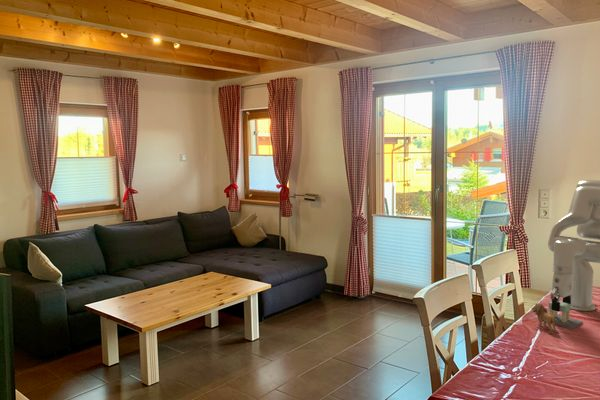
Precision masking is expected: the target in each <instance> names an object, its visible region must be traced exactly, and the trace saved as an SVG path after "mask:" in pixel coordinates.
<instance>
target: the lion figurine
mask: <svg viewBox="0 0 600 400" xmlns="http://www.w3.org/2000/svg"><path fill="white" fill-rule="evenodd" d="M531 311H532V313H535V315H537V317H538V318H539V319H538V322H539V324H538V325H537V326H538V327H542V326H548V328H549V330H550V331H548V332H549V334H551V335H552V334H553V332H555V333H556V334H557V335H560V332H558V330H557V329H556V324H555V322H556V320H555V317H554V316H553V315H550V314H549V312H548V310H547V308H546V307H545V306H544V305H543V304H542V303H540V302H539V303H538V302H536V303H535V305H534V306H533V307H531ZM542 320H544V321H542ZM551 322H552V323H551Z"/></svg>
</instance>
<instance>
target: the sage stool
mask: <svg viewBox="0 0 600 400" xmlns="http://www.w3.org/2000/svg"><path fill="white" fill-rule="evenodd" d="M559 302H560V311H559V312H561V316H562V322H564V323H565V322H566V320H567V321H569V320H570V318H571V310H572V309H571V304H568V303H564V302H563V301H559ZM551 308H552V301H549V302H548V313H549V314H550V315H553V316H554V317H557V315H558V311H554V310H552V309H551Z"/></svg>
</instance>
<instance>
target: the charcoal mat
mask: <svg viewBox="0 0 600 400" xmlns="http://www.w3.org/2000/svg"><path fill="white" fill-rule="evenodd" d="M538 320H539V318H538ZM555 320H556V322H555V326H556V325H557V326H559V327H563V328H567V329H570V330H573V329H575V328H577V327H579V326H580V325H582V324H583V323H584V321H583V320H579V319H575V318H571V317H570V320H569V321H567V320H566V322H565V323H564V322H562V314H561V315H560V314H557V317H555ZM542 322H544V320H542ZM551 324H552V322H551Z"/></svg>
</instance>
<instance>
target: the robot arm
mask: <svg viewBox="0 0 600 400" xmlns="http://www.w3.org/2000/svg"><path fill="white" fill-rule="evenodd" d="M571 199H572V200H571V203H570V205H569V206H570V207H569V209H568V213H567V215H565V216H563V217H562V218H560V219H559V220H558V221H557V222H556V223H555V224H554V225H553V226H552V229H551V231H550V235H549V236H548V237H549V239H548V242H547V246H548V250H549V251H551V252H553V262H552V272H553V276H552V284H551V292H550V299H551V301H552V308H551V309H552V310H554V311H557V313H559V312H561V311H560V302H561V301H560V300H561V298H562V302H564V303H568V304H571V310H574V311H582V312H591V311H594V310H596V305H595V304H594V303H593V300H594V298H595V297H594V296H593V286H594V285H593V284H594V269H593V267H592V265H591V264H590V263H595V264H600V180H598V179H586V180H585V179H583V180H580V181H578V182H577V185H576V189H575V190H574V193H573V196H572V198H571ZM572 227H576V234H577V236H578V237H579V238H578V237H572V236H563V235H561V234H562V232H564V231H565V230H567V229H569V228H572ZM588 239H589V240H588ZM595 240H597V241H595ZM551 301H550V302H551ZM559 301H560V302H559Z"/></svg>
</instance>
